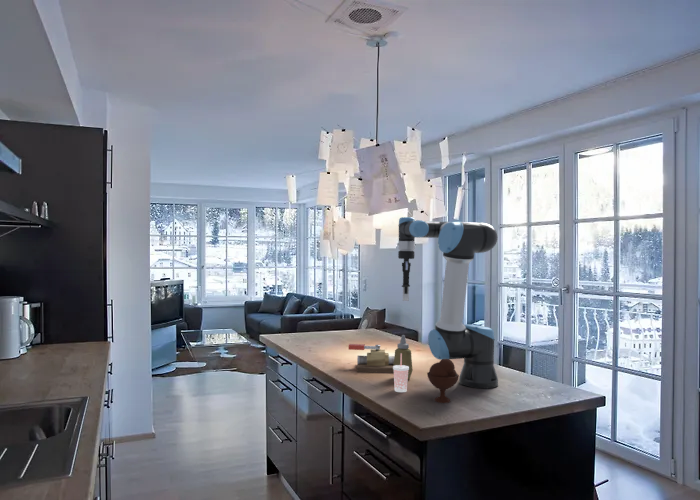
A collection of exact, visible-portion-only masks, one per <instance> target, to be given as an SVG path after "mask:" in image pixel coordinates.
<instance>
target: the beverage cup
mask: <svg viewBox="0 0 700 500" xmlns="http://www.w3.org/2000/svg"><path fill="white" fill-rule="evenodd" d="M393 369H394V373H393V383H394V385H393V386H394V392H397V393H406V392H407V391H408V390H407V389H408V380H409V379H408V370H409V366H405V365H402V353H401V358H400V365H395V366H393Z"/></svg>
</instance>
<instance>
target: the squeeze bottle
mask: <svg viewBox="0 0 700 500" xmlns="http://www.w3.org/2000/svg"><path fill="white" fill-rule="evenodd" d="M400 338H401V339H400V342H398V343H397V348H396V349H395V350H394V365H393V366H395V365H400V358H401V353H402V365H405V366H409V370H408V380H410V379H411V377H412V373H413V359H412V350H411V349H410V345H409V343H407V339H406V335H405V334H402V335H401V337H400ZM393 371H394V369H393Z"/></svg>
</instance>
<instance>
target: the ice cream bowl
mask: <svg viewBox="0 0 700 500" xmlns="http://www.w3.org/2000/svg"><path fill="white" fill-rule="evenodd" d="M455 368H456V367H455V364H454V362H453V361H452V359H442V360H439V362H438V361H437V362H434V363H433V364H432V365H431V366H430V368H429V371H428V372H426V374H427V377H428V381H429V382H430V383H431V384H432V386H433V387H435V388H436V389H438V390H439V391H440V393H439V396H437V397H436V398H434V402H436V403H438V404H439V403H441V404H449V403H450V402H451V399H450V398H449V397H448V396H446V390H448V389H451V388H453V387H454V386H455V385H456V384H457V383H458V382H459V376H460V374H458V373H457V371H456V370H455Z"/></svg>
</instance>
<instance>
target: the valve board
mask: <svg viewBox="0 0 700 500" xmlns="http://www.w3.org/2000/svg"><path fill="white" fill-rule="evenodd" d="M394 356H395V355H394ZM394 356H392V355H391V356H390V355H389V352H386V350H385V349H380V351H376V349H370V352H366V355H357V362H356V363H357V366H356V372H357V373H389V374H391V373H392V374H394V371H393V365H394Z"/></svg>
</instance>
